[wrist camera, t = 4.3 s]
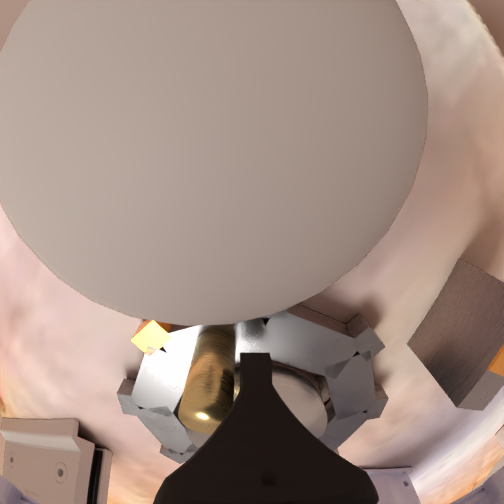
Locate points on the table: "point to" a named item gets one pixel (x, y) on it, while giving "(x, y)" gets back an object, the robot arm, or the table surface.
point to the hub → (287, 398)
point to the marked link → (465, 337)
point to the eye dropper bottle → (500, 436)
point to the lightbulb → (207, 147)
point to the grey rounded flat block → (54, 462)
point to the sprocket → (223, 372)
